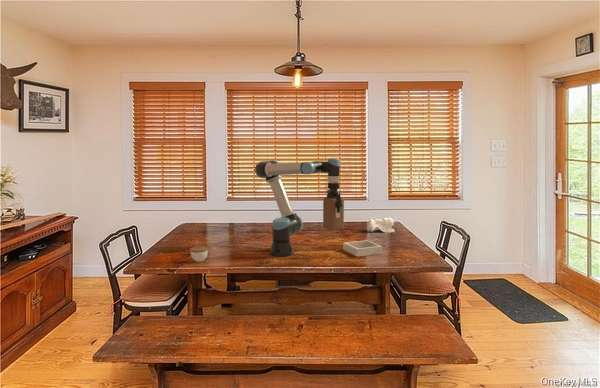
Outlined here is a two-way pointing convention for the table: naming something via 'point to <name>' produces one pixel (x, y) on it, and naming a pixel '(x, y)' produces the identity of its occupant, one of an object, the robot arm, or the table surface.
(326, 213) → the wooden block
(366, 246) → the box
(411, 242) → the table surface
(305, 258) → the table surface
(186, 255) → the table surface
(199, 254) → the white round bowl
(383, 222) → the cherub figurine
